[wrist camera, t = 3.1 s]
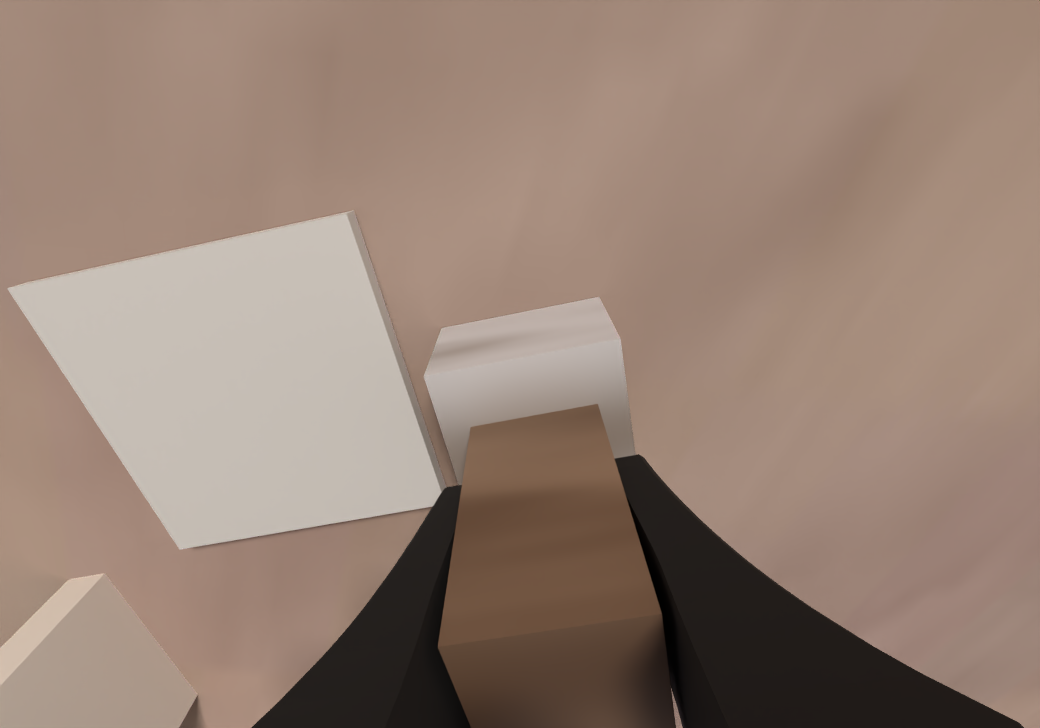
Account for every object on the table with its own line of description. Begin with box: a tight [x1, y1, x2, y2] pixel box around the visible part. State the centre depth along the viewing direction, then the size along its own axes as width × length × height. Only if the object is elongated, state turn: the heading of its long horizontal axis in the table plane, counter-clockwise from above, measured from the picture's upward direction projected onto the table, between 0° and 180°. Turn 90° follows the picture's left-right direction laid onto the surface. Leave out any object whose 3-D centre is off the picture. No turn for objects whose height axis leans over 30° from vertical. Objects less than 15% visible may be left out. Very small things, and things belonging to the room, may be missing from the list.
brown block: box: [424, 297, 676, 728], centre depth 11 cm, size 6×4×8 cm
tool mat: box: [7, 210, 447, 549], centre depth 14 cm, size 9×9×1 cm
